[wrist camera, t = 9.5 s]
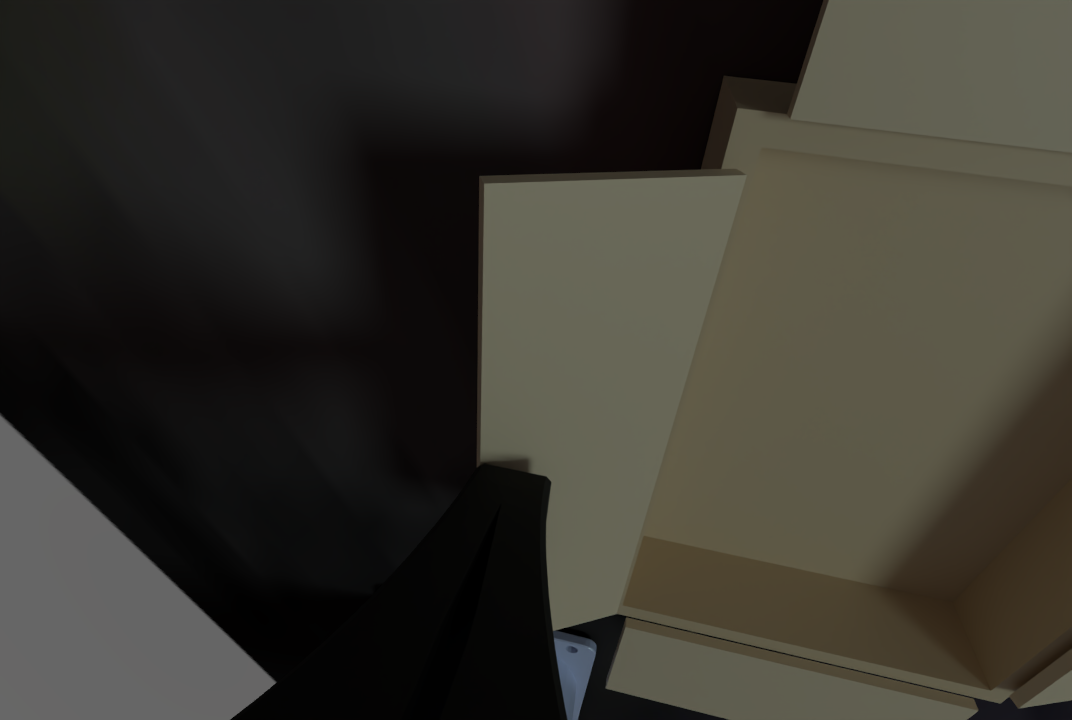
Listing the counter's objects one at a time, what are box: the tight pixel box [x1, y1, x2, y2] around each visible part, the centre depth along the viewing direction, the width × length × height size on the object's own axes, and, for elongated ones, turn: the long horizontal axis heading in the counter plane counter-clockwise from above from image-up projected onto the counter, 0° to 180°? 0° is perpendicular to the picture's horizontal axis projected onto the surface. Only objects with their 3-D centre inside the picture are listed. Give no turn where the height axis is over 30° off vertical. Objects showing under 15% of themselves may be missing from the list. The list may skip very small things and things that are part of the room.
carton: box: [606, 0, 1072, 720], centre depth 13 cm, size 11×22×3 cm, turn 176°
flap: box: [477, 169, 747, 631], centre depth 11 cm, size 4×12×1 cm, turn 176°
